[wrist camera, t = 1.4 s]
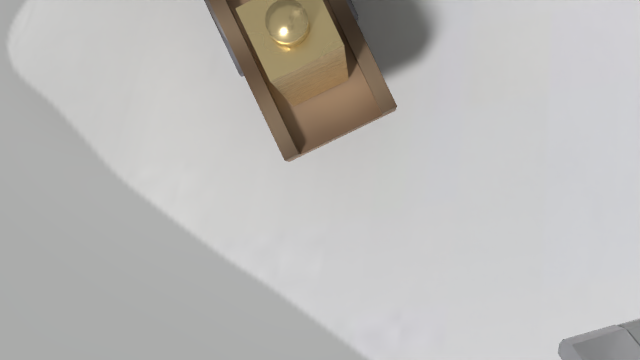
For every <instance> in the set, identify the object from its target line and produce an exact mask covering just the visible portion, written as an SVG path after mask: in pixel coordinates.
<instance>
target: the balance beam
mask: <svg viewBox="0 0 640 360" xmlns="http://www.w3.org/2000/svg"><path fill="white" fill-rule="evenodd" d="M204 1H205V3H206V5H207V7H208V9H209V11H210V14H211V16H212V18H213V20H214V22H215V24H216V26H217V28H218V30H219V33H220V35H221V37H222V39H223V41H224V43H225V45H226V47H227V49H228V52H229V54H230V56H231V58H232V60H233V62H234V64H235V66H236V68H237V70H238V73H239V74H240V75H241V76H245V78H246V80H247V82H248V84H249V86H250V88H251V91H252V93H253V95H254V97H255V99H256V101H257V103H258V105H259V107H260V110H261V112H262V114H263V116H264V118H265V120H266V122H267V124H268V126H269V128H270V131H271V133H272V135H273V137H274V139H275V141H276V143H277V145H278V147H279V150H280V152H281V154H282V156H283V158H284V160H285V161H289V162H290V161H292V160H294V159H296V158H298V157H300V156H302V155H304V154H306V153H308V152H310V151H312V150H315V149H317V148H319V147H321V146H323V145H325V144H327V143H329V142H331V141H333V140H335V139H337V138H339V137H342V136H344V135H346V134H348V133H350V132H352V131H354V130H356V129H358V128H360V127H362V126H364V125H366V124H368V123H371V122H373V121H375V120H377V119H379V118H381V117H383V116H385V115H387V114H389V113H391V112H393V111H395V109H396V107H397V105H396V103H395V101H394V99H393V97H392V95H391V93H390V91H389V89H388V87H387V84H386V82H385V80H384V78H383V76H382V74H381V72H380V70H379V68H378V66H377V64H376V62H375V60H374V58H373V55H372V53H371V51H370V49H369V47H368V45H367V43H366V41H365V39H364V37H363V35H362V33H361V31H360V28H359V26H358V24H357V22H356V20H357V19H358V15H357V13H356V11H355V9H354V6H353V4H352V2H351V0H323V2H324V4H325V6H326V9H327V11H328V13H329V15H330V17H331V19H332V21H333V23H334V25H335V27H336V29H337V31H338V33H339V36H340V38H341V40H342V42H343V44H344V48H345V56H346V63H347V71H348V78H349V80H347V81H345V82H343V83H341V84H339V85H337V86H335V87H333V88H331V89H329V90H327V91H325V92H323V93H321V94H319V95H317V96H315V97H312V98H310V99H308V100H306V101H304V102H302V103H300V104H298V105H296V106H293V105H292V104H291V103H290V102H289V101H288V100H287V99H286V98H285V97H284V96H283V95H282V94H281V93H280V92H279V90H278V89H277V88H276V87H275V86H274V85H273V84H272V83H271V82H270V80H269V78H268V76H267V74H266V72H265V70H264V68H263V66H262V64H261V61H260V59H259V57H258V55H257V53H256V51H255V49H254V47H253V45H252V43H251V40H250V38H249V36H248V34H247V32H246V30H245V28H244V26H243V24H242V22H241V19H240V17H239V15H238V13H237V11H236V9H235V8H237V7H239V6H241V5H243V4H245V3H247V2H249V1H251V0H204Z"/></svg>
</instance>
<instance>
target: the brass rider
mask: <svg viewBox="0 0 640 360" xmlns="http://www.w3.org/2000/svg"><path fill="white" fill-rule="evenodd" d="M235 9H236V11H237V13H238V15H239V17H240V19H241V22H242V24H243V26H244V28H245V30H246V32H247V34H248V36H249V38H250V40H251V43H252V45H253V47H254V49H255V51H256V53H257V55H258V57H259V59H260V61H261V64H262V66H263V68H264V70H265V72H266V74H267V76H268V78H269V80H270V82H271V83H272V84H273V85H274V86H275V87H276V88H277V89H278V90H279V92H280V93H281V94H282V95H283V96H284V97H285V98H286V99H287V100H288V101H289V102H290V103H291V104H292V105H293V106H296V105H298V104H300V103H302V102H304V101H306V100H308V99H310V98H312V97H315V96H317V95H319V94H321V93H323V92H325V91H327V90H329V89H331V88H333V87H335V86H337V85H339V84H341V83H343V82H345V81H347V80H349V78H348V71H347V63H346V56H345V48H344V44H343V42H342V40H341V38H340V36H339V33H338V31H337V29H336V27H335V25H334V23H333V21H332V19H331V17H330V15H329V13H328V11H327V9H326V6H325V4H324V2H323V0H251V1H249V2H247V3H245V4H243V5H241V6H239V7H237V8H235Z"/></svg>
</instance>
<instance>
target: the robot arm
mask: <svg viewBox="0 0 640 360" xmlns="http://www.w3.org/2000/svg"><path fill="white" fill-rule="evenodd" d="M558 354H559V356H560V357H561V359H562V360H640V319H636V320H633V321H629V322H626V323H622V324H619V325H612V326H609V327H605V328H602V329H598V330H595V331H591V332H588V333H584V334H581V335H577V336H574V337H570V338H567V339H563V340H562V341H561V342H560V344H559V350H558Z"/></svg>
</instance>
